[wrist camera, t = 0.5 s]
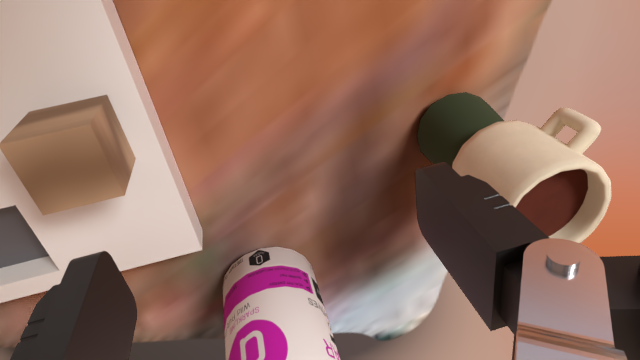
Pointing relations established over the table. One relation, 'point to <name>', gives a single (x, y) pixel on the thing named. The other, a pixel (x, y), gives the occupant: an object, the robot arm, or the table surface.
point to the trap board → (136, 121)
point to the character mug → (522, 162)
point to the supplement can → (275, 309)
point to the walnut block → (70, 154)
